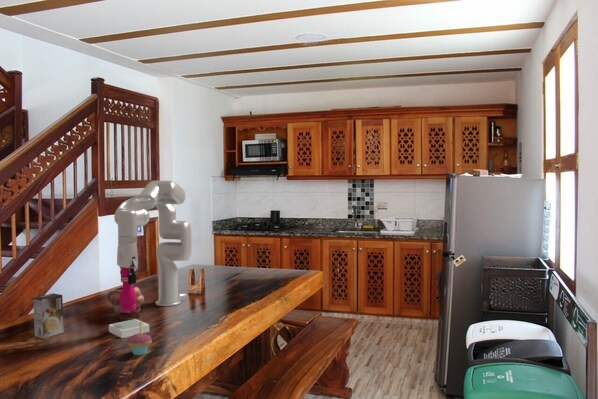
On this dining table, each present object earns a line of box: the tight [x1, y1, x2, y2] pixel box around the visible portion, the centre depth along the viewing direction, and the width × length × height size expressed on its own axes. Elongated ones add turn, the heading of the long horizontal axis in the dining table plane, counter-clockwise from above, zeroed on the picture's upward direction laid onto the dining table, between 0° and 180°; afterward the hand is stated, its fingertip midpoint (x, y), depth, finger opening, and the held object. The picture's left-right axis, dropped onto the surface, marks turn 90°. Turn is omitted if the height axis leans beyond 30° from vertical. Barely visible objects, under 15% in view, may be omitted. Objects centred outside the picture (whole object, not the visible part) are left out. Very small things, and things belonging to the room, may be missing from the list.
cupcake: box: [127, 321, 153, 356], centre depth 184 cm, size 9×8×12 cm
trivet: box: [108, 318, 150, 339], centre depth 210 cm, size 12×12×3 cm
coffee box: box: [32, 293, 65, 339], centre depth 206 cm, size 9×6×16 cm
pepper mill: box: [119, 266, 137, 311], centre depth 209 cm, size 7×7×20 cm
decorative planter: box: [107, 286, 145, 320], centre depth 232 cm, size 20×12×14 cm, turn 74°
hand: (128, 282), depth 209 cm, fingers closed on pepper mill, 5 cm apart
